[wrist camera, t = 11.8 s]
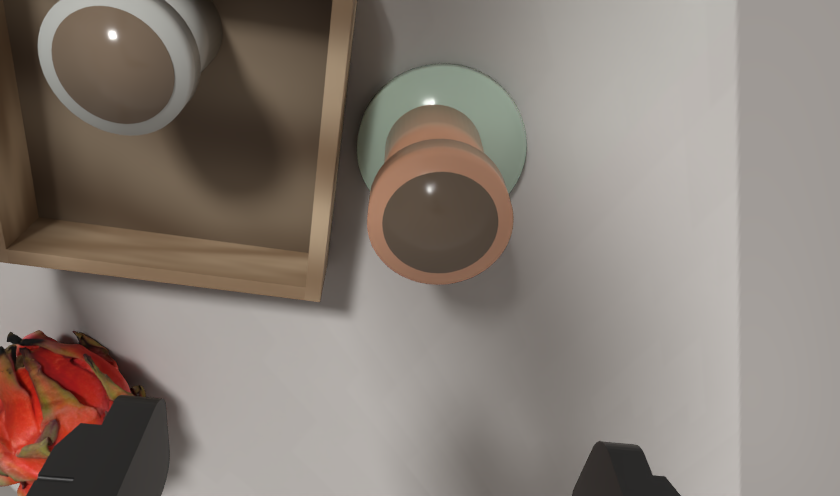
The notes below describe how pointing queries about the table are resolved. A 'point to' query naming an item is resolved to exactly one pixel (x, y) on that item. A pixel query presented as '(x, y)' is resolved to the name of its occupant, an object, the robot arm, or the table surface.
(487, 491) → the table surface
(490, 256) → the terracotta pot
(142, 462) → the robot arm
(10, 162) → the box
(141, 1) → the grey pot
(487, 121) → the saucer
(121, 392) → the dragon fruit
